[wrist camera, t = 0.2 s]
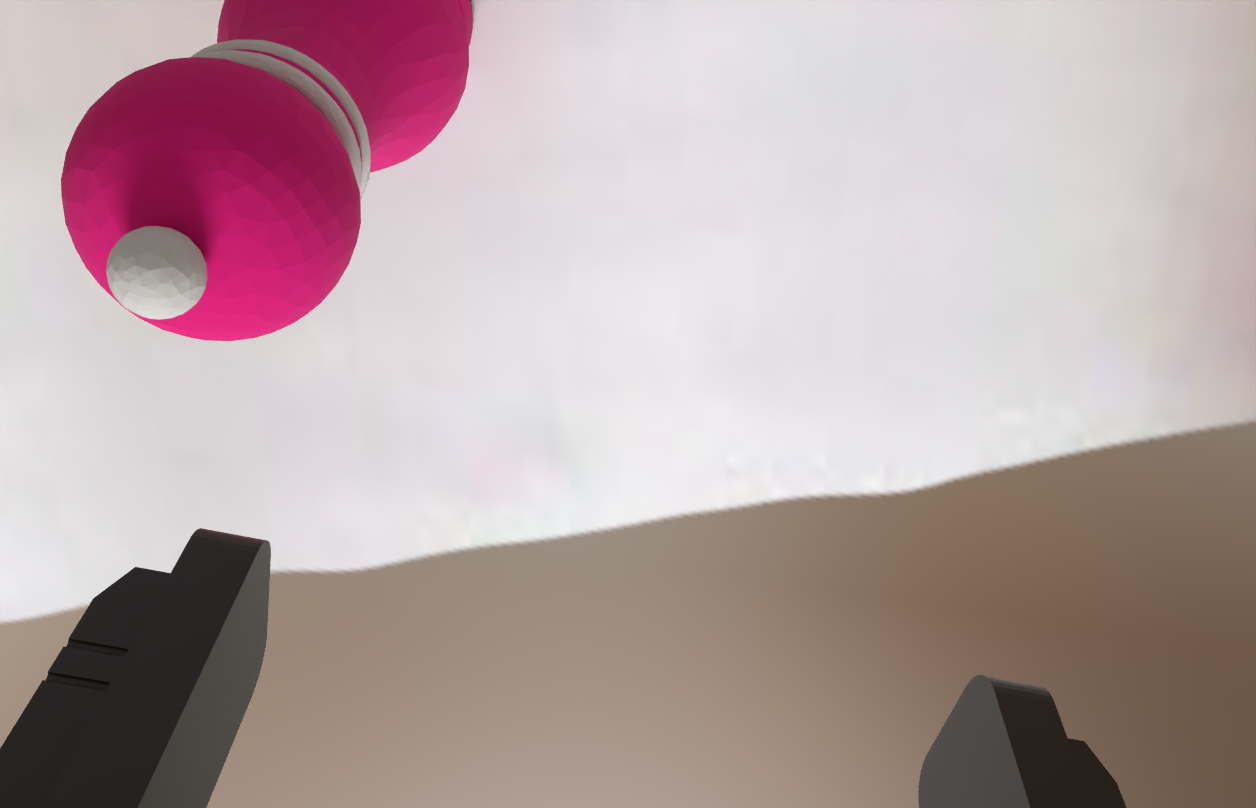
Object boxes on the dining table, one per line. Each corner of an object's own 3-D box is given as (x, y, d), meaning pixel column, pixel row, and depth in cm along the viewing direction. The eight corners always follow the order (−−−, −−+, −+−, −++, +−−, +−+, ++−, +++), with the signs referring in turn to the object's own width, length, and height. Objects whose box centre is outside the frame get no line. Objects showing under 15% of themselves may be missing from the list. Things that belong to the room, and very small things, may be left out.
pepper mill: (517, 86, 38) (396, 411, 22) (326, 139, 39) (74, 484, 23) (441, -136, 34) (222, 50, 18) (233, -69, 36) (-152, 163, 19)
